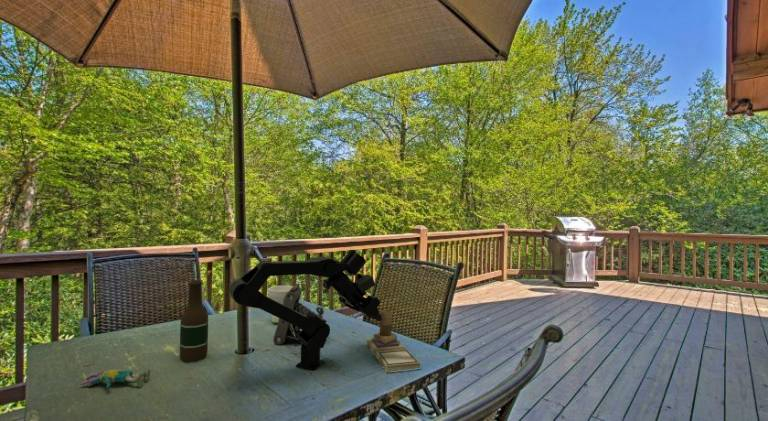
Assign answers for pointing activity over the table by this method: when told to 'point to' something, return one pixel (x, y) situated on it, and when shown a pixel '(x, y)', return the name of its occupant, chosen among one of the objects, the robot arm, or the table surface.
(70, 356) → the table surface
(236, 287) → the robot arm
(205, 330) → the beer bottle
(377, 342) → the ink pad
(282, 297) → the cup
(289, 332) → the camera
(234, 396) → the table surface
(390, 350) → the board
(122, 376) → the toy
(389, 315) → the stamp
